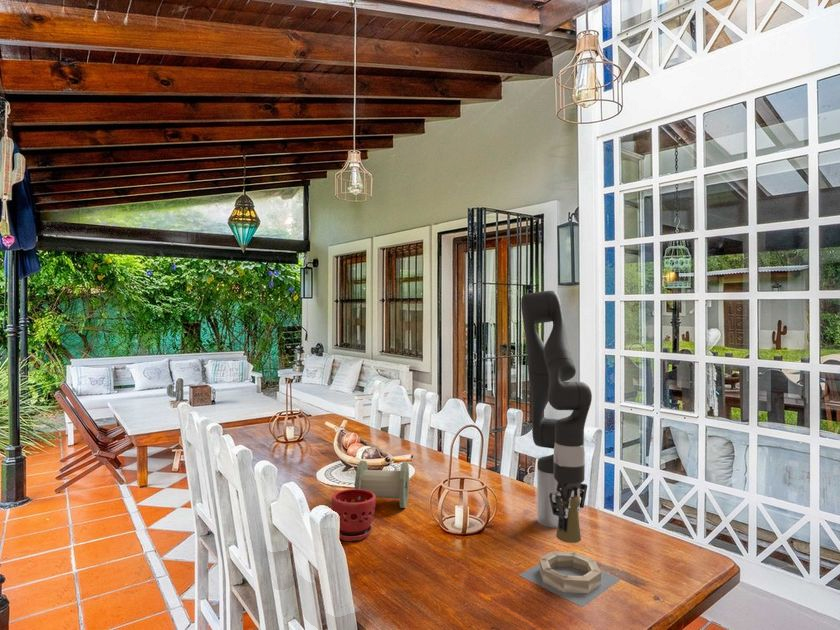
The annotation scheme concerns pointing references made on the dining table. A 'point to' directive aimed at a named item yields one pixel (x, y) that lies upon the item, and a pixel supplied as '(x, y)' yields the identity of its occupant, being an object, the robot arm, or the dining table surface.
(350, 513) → the plant pot
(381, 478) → the spool
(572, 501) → the olive pawn peg
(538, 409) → the robot arm
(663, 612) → the dining table surface
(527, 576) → the slate mat
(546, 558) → the wooden ring
